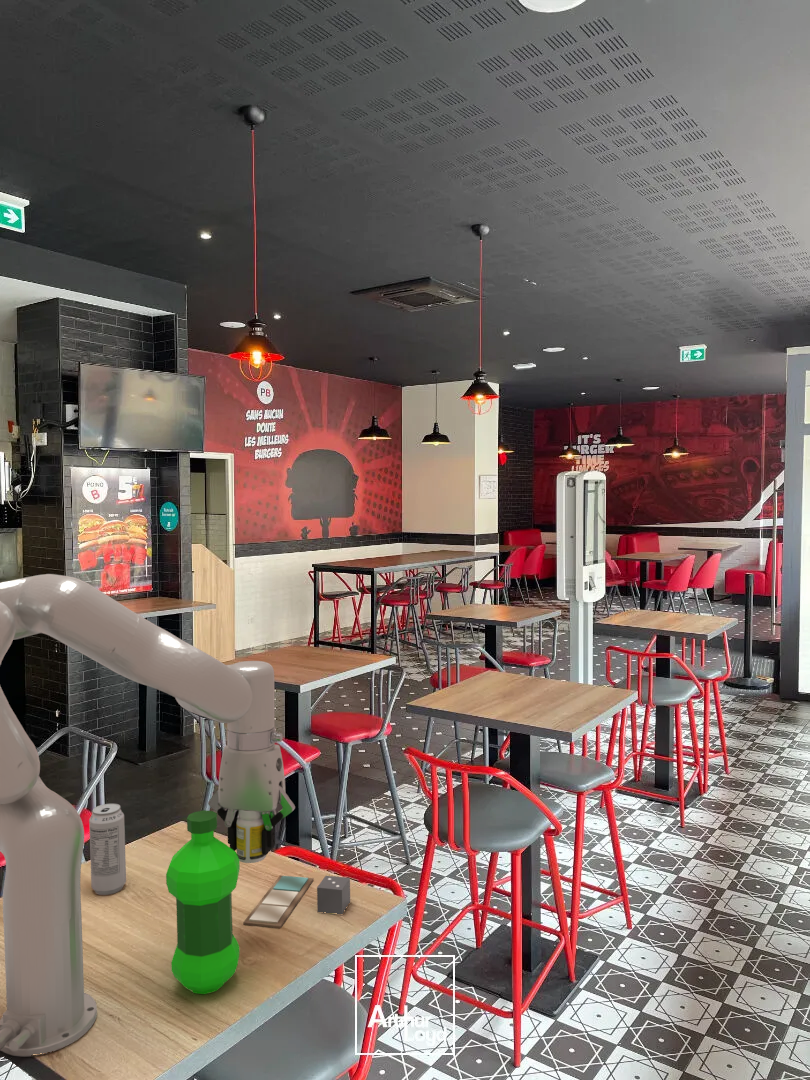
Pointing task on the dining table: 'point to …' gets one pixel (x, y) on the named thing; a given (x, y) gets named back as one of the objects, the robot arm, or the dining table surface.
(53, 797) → the robot arm
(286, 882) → the board
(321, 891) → the die
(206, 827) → the plastic bottle
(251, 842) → the supplement bottle
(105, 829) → the energy drink can
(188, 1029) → the dining table surface
